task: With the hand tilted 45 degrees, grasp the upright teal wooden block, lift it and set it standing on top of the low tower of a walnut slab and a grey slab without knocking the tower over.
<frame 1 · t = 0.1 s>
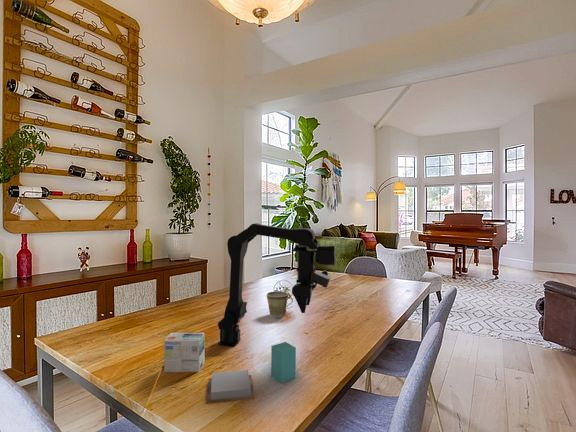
hand: (305, 308, 115), 15 cm above the table, tool pointing down, fingers open, 9 cm apart
teal block: (283, 381, 95), on the table
grey slab: (230, 387, 88), point 1 cm above the table, touching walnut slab
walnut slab: (230, 395, 88), on the table, touching grey slab
light bulb box: (184, 371, 100), on the table
olive mug: (280, 316, 152), on the table
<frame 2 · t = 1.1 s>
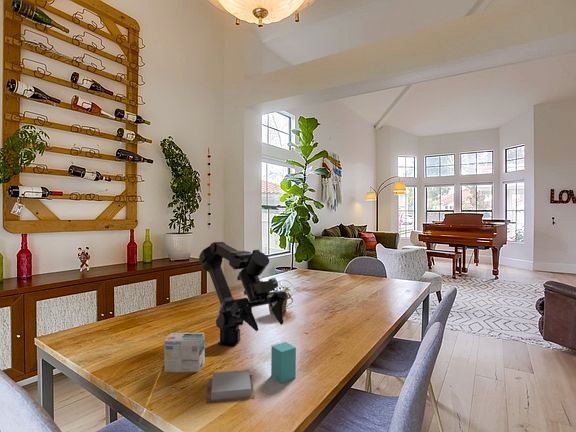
hand: (270, 327, 101), 13 cm above the table, tool tilted 45°, fingers open, 9 cm apart
nothing on the table moved.
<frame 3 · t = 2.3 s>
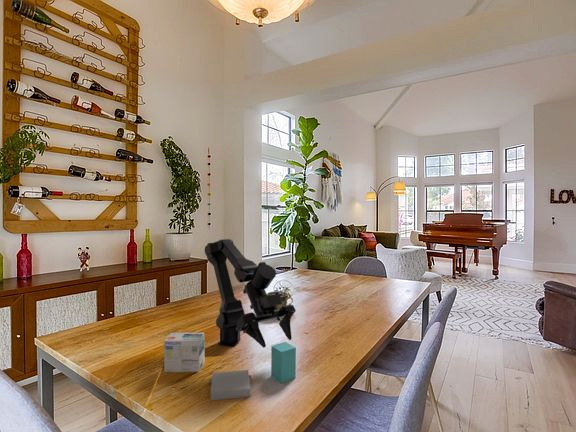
hand: (278, 343, 97), 10 cm above the table, tool tilted 45°, fingers open, 9 cm apart
nothing on the table moved.
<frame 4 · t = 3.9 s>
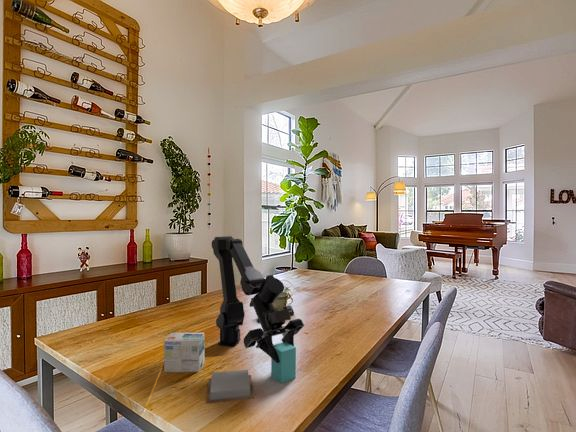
hand: (286, 360, 93), 7 cm above the table, tool tilted 45°, fingers closed on teal block, 5 cm apart
teal block: (283, 381, 95), on the table, touching gripper
everything else where it was.
when the fingers open (12 cm above the table, at t = 8.3 s): teal block drops 2 cm, resting on grey slab.
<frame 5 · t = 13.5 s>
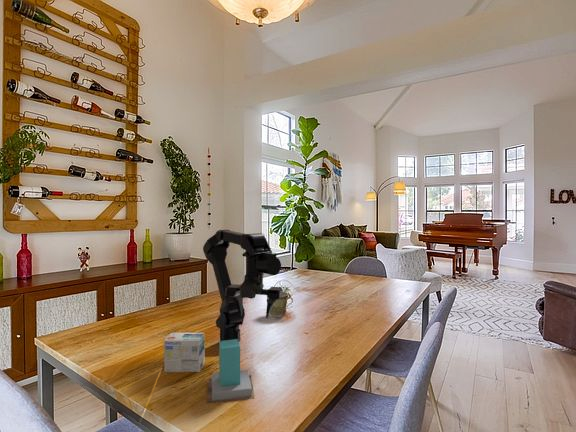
hand: (254, 316, 111), 13 cm above the table, tool pointing down, fingers open, 9 cm apart
teal block: (229, 380, 88), point 3 cm above the table, touching grey slab
grey slab: (230, 388, 88), point 1 cm above the table, touching teal block, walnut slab
everything else where it was.
at the end: teal block 0.4 cm off-centre on the grey slab, point 2.0 cm above the grey slab's base; teal block tilted 1°; grey slab moved 0.8 cm from its start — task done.
